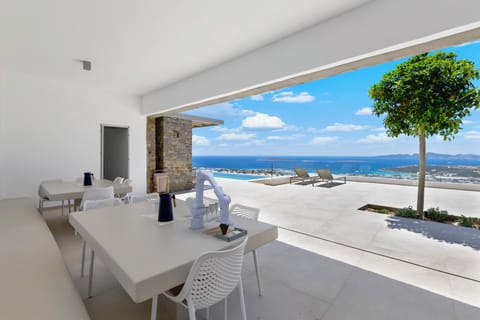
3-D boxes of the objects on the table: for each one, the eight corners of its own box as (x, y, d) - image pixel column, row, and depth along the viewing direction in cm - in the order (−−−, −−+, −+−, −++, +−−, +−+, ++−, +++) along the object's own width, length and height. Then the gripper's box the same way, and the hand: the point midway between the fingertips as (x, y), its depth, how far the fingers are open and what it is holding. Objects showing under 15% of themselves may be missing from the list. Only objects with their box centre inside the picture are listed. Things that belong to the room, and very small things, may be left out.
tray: (216, 239, 145) (216, 233, 145) (235, 231, 159) (235, 226, 159) (228, 243, 138) (228, 237, 138) (247, 235, 152) (247, 230, 152)
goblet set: (207, 223, 178) (207, 206, 177) (202, 222, 181) (202, 205, 181) (229, 215, 200) (229, 200, 200) (224, 214, 204) (224, 200, 203)
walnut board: (200, 233, 155) (200, 232, 155) (219, 227, 169) (219, 225, 169) (216, 239, 145) (216, 237, 145) (235, 231, 159) (235, 230, 159)
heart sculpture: (203, 219, 190) (203, 197, 189) (199, 220, 186) (199, 198, 185) (189, 216, 198) (189, 195, 197) (185, 217, 193) (185, 196, 193)
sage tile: (232, 234, 152) (232, 231, 152) (237, 233, 155) (237, 230, 155) (236, 236, 149) (236, 233, 149) (241, 235, 152) (241, 232, 151)
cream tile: (222, 238, 145) (222, 235, 145) (227, 236, 149) (227, 233, 149) (227, 240, 142) (227, 237, 142) (232, 238, 146) (232, 235, 146)
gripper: (236, 215, 145) (236, 236, 146) (220, 211, 155) (220, 231, 155) (229, 217, 140) (229, 239, 140) (213, 213, 149) (213, 233, 150)
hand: (224, 235), depth 147 cm, fingers closed
